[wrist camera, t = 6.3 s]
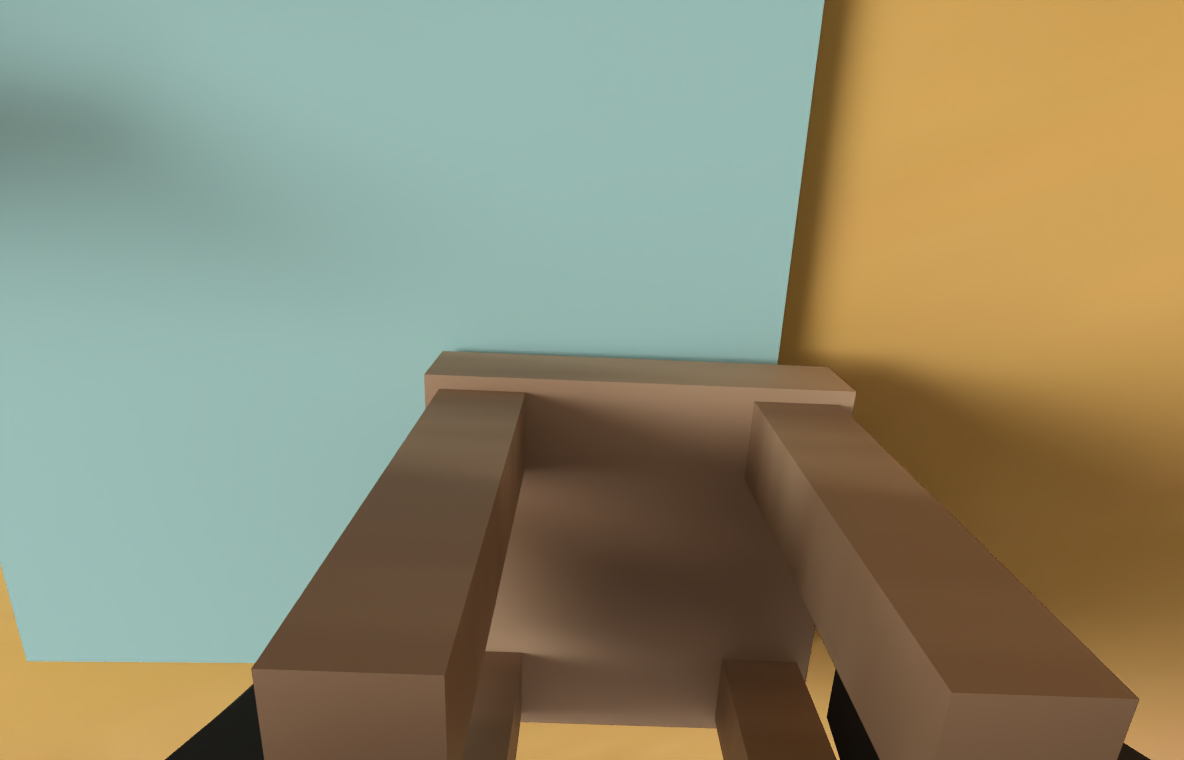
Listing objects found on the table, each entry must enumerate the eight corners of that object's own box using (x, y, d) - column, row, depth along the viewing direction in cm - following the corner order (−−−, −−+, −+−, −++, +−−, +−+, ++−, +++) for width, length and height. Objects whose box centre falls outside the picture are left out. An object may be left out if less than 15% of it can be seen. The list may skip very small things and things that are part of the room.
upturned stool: (778, 678, 12) (971, 1214, 6) (451, 666, 12) (303, 1200, 6) (827, 366, 10) (1180, 674, 4) (442, 350, 10) (215, 640, 4)
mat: (731, 645, 13) (738, 666, 13) (51, 638, 13) (26, 660, 12) (850, -322, 9) (871, -356, 8) (-213, -400, 8) (-273, -444, 7)
